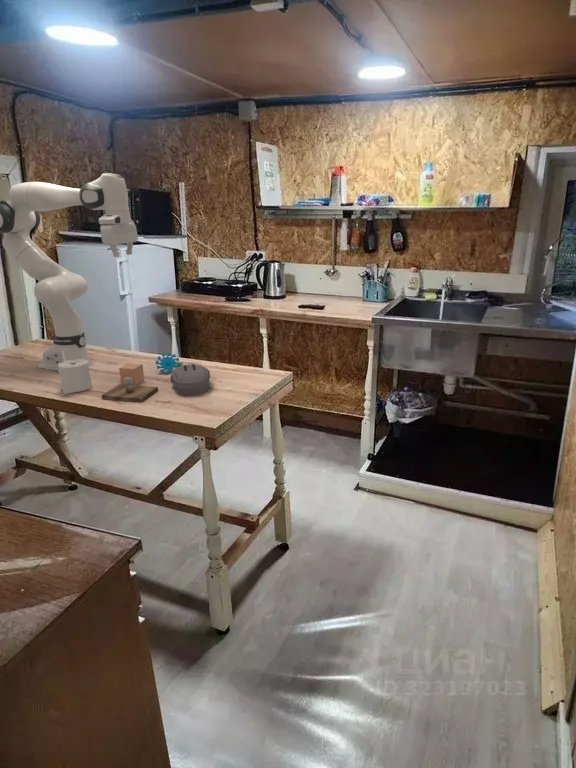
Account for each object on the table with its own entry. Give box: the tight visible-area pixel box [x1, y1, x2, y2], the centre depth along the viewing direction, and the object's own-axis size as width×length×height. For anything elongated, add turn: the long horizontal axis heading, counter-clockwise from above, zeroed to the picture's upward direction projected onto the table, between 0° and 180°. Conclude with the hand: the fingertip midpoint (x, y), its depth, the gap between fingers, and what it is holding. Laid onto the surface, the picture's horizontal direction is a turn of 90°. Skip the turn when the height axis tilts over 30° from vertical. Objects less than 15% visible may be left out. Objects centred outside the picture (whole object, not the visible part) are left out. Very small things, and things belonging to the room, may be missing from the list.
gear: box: [155, 352, 184, 375], centre depth 208 cm, size 11×6×10 cm
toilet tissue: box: [58, 359, 93, 395], centre depth 188 cm, size 11×12×10 cm
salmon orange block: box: [118, 362, 145, 386], centre depth 193 cm, size 6×6×7 cm
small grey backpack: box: [170, 363, 211, 396], centre depth 187 cm, size 15×8×20 cm
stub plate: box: [101, 377, 159, 403], centre depth 181 cm, size 16×12×6 cm
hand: (123, 255), depth 194 cm, fingers open, 8 cm apart
